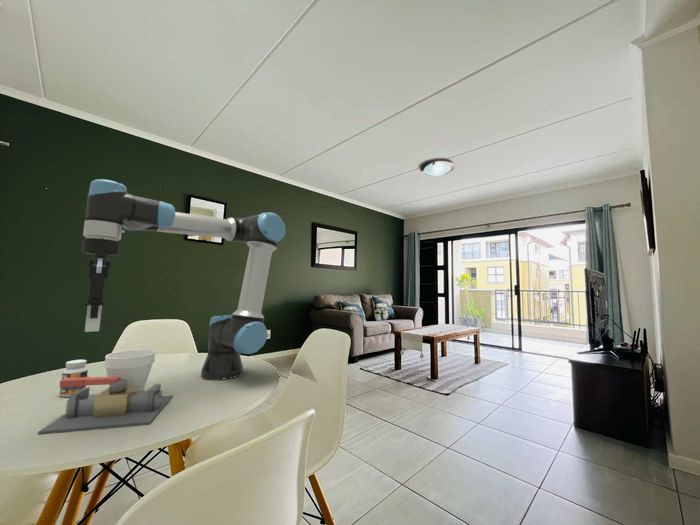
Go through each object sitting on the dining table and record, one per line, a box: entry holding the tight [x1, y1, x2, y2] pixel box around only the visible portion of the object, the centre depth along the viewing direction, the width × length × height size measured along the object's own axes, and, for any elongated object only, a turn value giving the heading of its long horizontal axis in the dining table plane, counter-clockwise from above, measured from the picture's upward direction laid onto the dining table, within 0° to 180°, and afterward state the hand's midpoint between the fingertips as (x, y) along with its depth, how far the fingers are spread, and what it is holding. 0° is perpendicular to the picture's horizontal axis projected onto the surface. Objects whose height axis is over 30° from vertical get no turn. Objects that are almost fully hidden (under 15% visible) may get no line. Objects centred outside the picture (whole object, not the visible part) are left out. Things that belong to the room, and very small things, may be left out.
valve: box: [64, 383, 163, 419], centre depth 76 cm, size 20×7×6 cm, turn 106°
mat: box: [37, 394, 174, 435], centre depth 76 cm, size 22×18×1 cm
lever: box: [59, 376, 128, 392], centre depth 75 cm, size 14×4×3 cm, turn 104°
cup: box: [103, 348, 156, 391], centre depth 86 cm, size 12×12×14 cm
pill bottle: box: [59, 359, 89, 398], centre depth 88 cm, size 6×6×10 cm
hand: (92, 331), depth 72 cm, fingers closed
